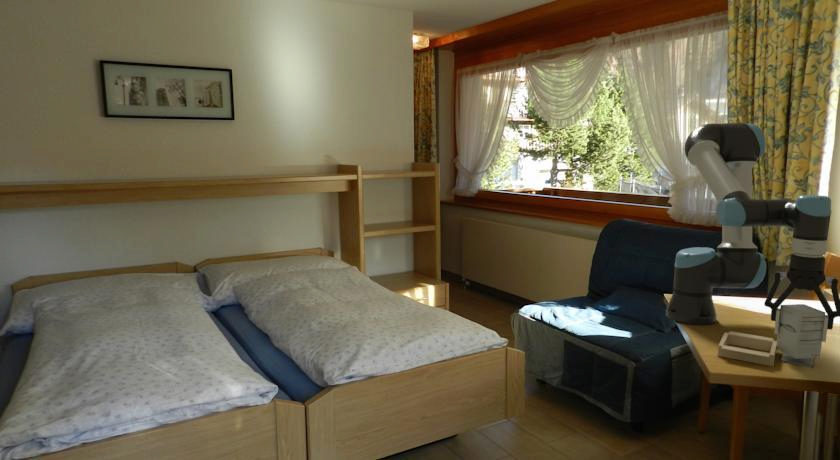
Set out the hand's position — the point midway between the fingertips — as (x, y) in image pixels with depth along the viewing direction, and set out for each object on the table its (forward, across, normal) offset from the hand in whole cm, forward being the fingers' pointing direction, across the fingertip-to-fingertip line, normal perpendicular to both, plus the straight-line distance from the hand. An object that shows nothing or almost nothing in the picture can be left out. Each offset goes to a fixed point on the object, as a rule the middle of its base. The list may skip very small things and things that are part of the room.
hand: (799, 336), depth 151 cm
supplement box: (+5, 0, 0) cm, 5 cm away
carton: (+7, -12, -2) cm, 13 cm away
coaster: (+7, 0, 0) cm, 7 cm away
